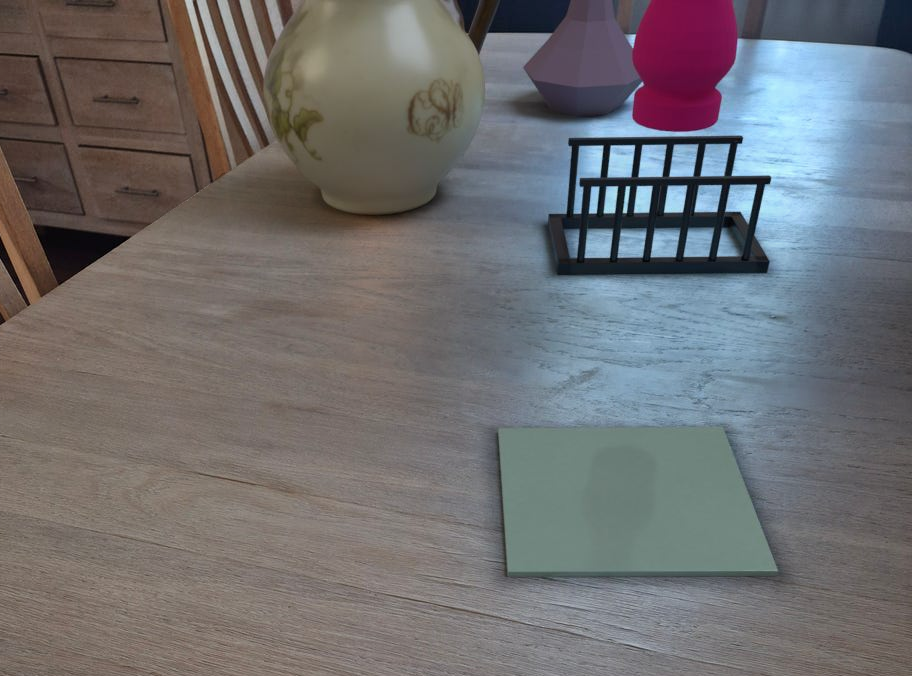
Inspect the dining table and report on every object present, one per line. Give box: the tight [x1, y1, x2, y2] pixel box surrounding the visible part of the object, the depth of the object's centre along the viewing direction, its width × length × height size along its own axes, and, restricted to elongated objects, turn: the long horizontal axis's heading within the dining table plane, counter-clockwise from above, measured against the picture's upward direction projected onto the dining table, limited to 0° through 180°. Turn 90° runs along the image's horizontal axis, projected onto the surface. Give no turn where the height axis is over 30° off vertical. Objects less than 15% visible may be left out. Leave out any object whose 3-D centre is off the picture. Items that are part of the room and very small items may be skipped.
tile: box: [497, 426, 779, 578], centre depth 62 cm, size 16×16×1 cm
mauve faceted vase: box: [522, 0, 643, 118], centre depth 119 cm, size 16×16×20 cm
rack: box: [547, 135, 772, 276], centre depth 89 cm, size 19×12×8 cm, turn 89°
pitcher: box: [262, 0, 501, 216], centre depth 95 cm, size 22×24×25 cm
